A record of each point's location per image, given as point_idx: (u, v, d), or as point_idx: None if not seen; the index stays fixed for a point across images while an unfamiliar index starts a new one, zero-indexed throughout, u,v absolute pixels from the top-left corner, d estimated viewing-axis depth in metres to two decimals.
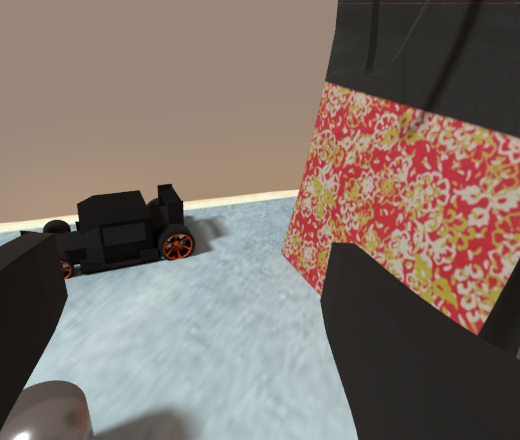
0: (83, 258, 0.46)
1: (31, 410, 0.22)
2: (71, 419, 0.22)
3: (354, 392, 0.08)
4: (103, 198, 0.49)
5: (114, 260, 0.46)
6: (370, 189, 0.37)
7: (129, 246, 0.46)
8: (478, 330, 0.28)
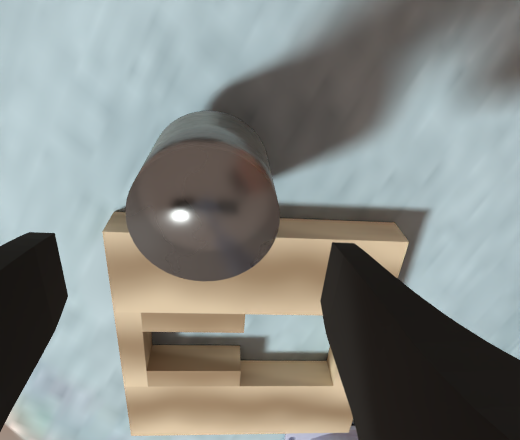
0: None
1: (186, 209, 0.12)
2: (259, 227, 0.13)
3: (354, 392, 0.08)
4: None
5: None
6: None
7: None
8: None
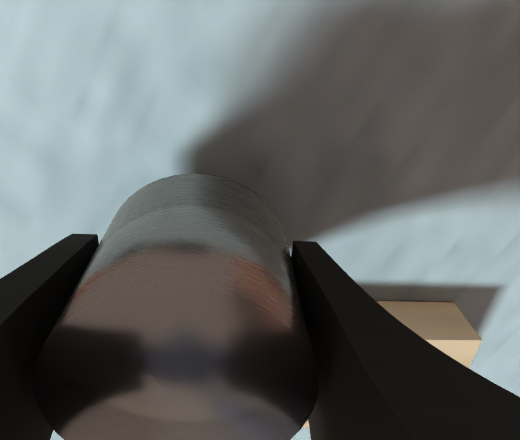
0: None
1: (147, 384, 0.07)
2: (282, 404, 0.07)
3: None
4: None
5: None
6: None
7: None
8: None
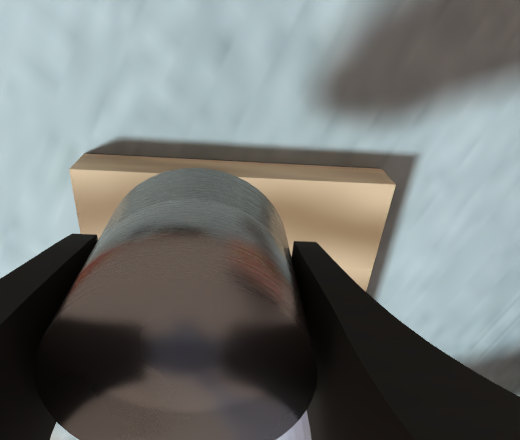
0: None
1: (147, 374, 0.07)
2: (281, 393, 0.07)
3: None
4: None
5: None
6: None
7: None
8: None
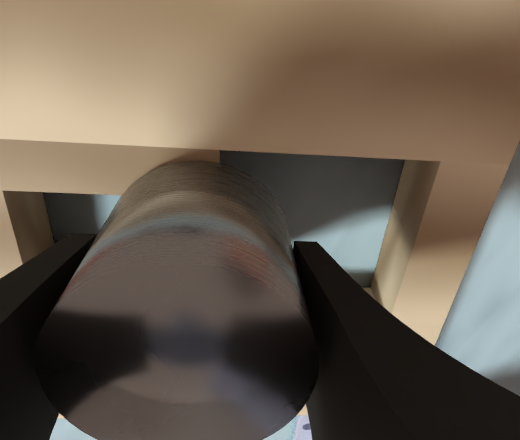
0: None
1: (148, 362, 0.07)
2: (282, 382, 0.07)
3: None
4: None
5: None
6: None
7: None
8: None
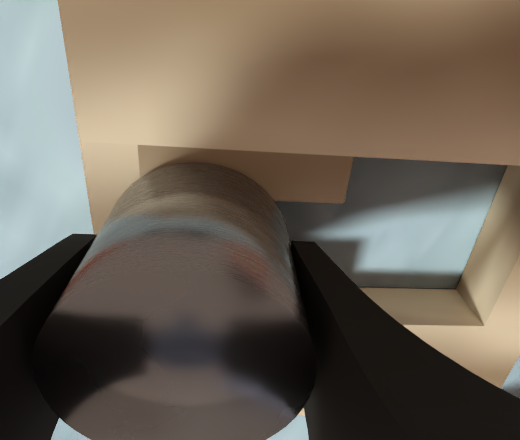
0: None
1: (147, 364, 0.07)
2: (279, 390, 0.07)
3: None
4: None
5: None
6: None
7: None
8: None
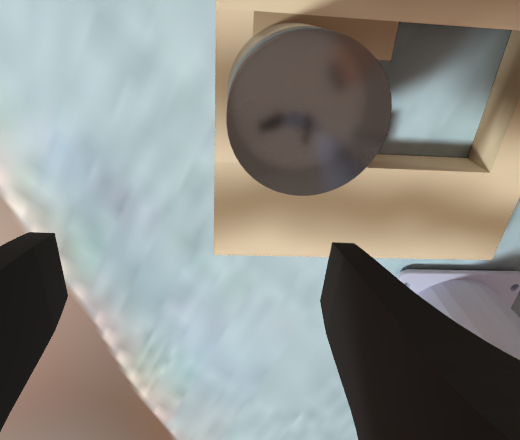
0: None
1: (293, 105, 0.11)
2: (367, 131, 0.12)
3: (354, 392, 0.08)
4: None
5: None
6: None
7: None
8: None
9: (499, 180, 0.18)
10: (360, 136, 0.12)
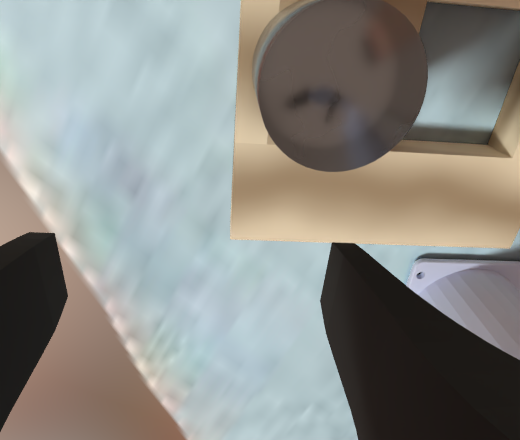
0: None
1: (327, 76, 0.11)
2: (401, 105, 0.12)
3: (354, 392, 0.08)
4: None
5: None
6: None
7: None
8: None
9: None
10: (394, 110, 0.12)
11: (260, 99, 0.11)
